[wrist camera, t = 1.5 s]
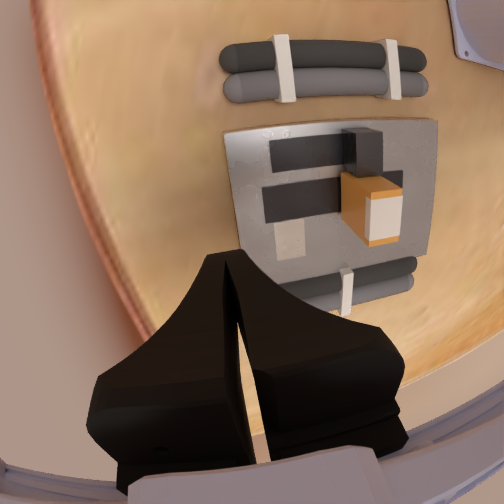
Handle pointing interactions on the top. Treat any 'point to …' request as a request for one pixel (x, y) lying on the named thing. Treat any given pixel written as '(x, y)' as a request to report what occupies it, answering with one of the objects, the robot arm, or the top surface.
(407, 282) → the cord bundle
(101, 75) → the top surface
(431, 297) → the top surface
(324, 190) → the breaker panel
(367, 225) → the lever
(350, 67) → the cord bundle
